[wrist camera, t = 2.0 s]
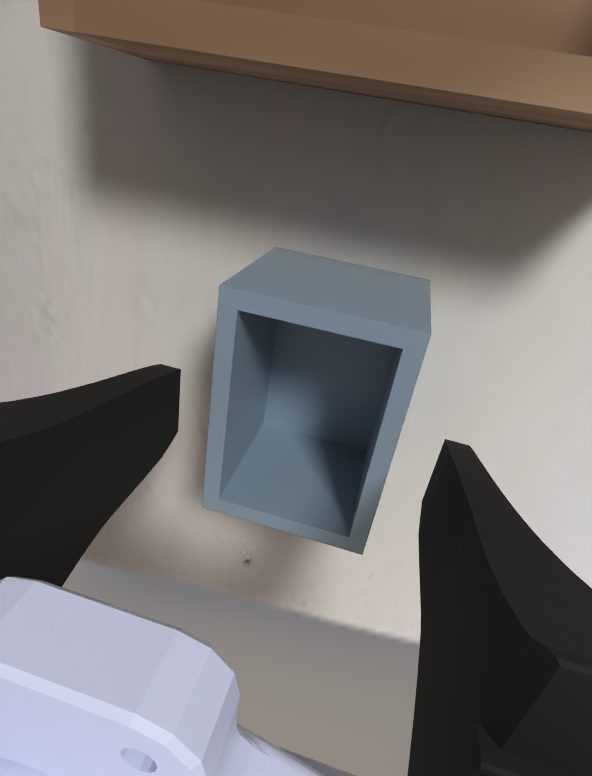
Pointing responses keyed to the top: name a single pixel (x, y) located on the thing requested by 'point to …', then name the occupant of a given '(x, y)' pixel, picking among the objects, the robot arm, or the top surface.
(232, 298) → the small crate
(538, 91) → the big crate
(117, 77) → the top surface
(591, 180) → the top surface
